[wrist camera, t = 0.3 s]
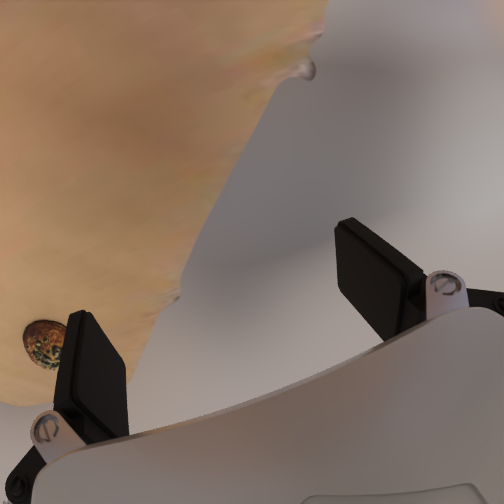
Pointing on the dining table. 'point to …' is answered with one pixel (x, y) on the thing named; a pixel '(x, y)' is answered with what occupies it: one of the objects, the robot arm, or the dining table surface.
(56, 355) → the bread roll
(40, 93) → the dining table surface
